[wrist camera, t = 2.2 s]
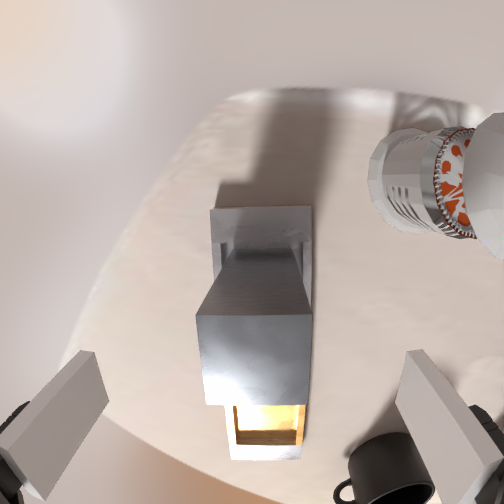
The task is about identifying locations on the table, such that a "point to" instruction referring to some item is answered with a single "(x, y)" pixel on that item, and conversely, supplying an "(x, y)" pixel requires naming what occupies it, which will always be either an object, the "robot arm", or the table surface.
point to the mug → (387, 473)
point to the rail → (300, 240)
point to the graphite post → (256, 331)
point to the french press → (443, 182)
